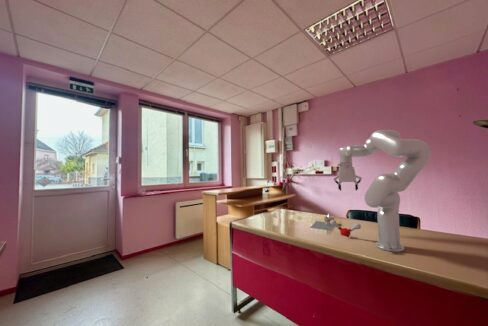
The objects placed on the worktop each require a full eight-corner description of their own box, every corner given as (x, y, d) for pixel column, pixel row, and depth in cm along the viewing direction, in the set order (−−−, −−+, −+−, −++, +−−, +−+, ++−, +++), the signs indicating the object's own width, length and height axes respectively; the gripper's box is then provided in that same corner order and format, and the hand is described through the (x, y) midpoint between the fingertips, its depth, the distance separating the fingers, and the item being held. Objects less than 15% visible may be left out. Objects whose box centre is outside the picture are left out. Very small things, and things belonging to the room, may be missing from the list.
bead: (333, 225, 146) (332, 218, 147) (323, 224, 150) (323, 218, 150) (334, 223, 152) (334, 216, 152) (325, 222, 155) (325, 216, 155)
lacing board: (332, 232, 136) (332, 230, 136) (309, 229, 144) (309, 227, 144) (337, 225, 153) (336, 223, 153) (316, 222, 161) (316, 221, 161)
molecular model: (329, 235, 130) (329, 220, 131) (332, 233, 135) (331, 218, 135) (360, 241, 119) (359, 224, 119) (362, 238, 123) (361, 222, 124)
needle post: (330, 224, 149) (330, 213, 150) (327, 224, 151) (327, 213, 151) (331, 224, 151) (330, 213, 151) (328, 223, 152) (327, 213, 152)
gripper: (331, 166, 140) (333, 191, 138) (360, 164, 130) (362, 190, 129) (333, 166, 146) (335, 190, 145) (361, 164, 137) (363, 189, 136)
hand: (348, 190), depth 137 cm, fingers open, 9 cm apart
